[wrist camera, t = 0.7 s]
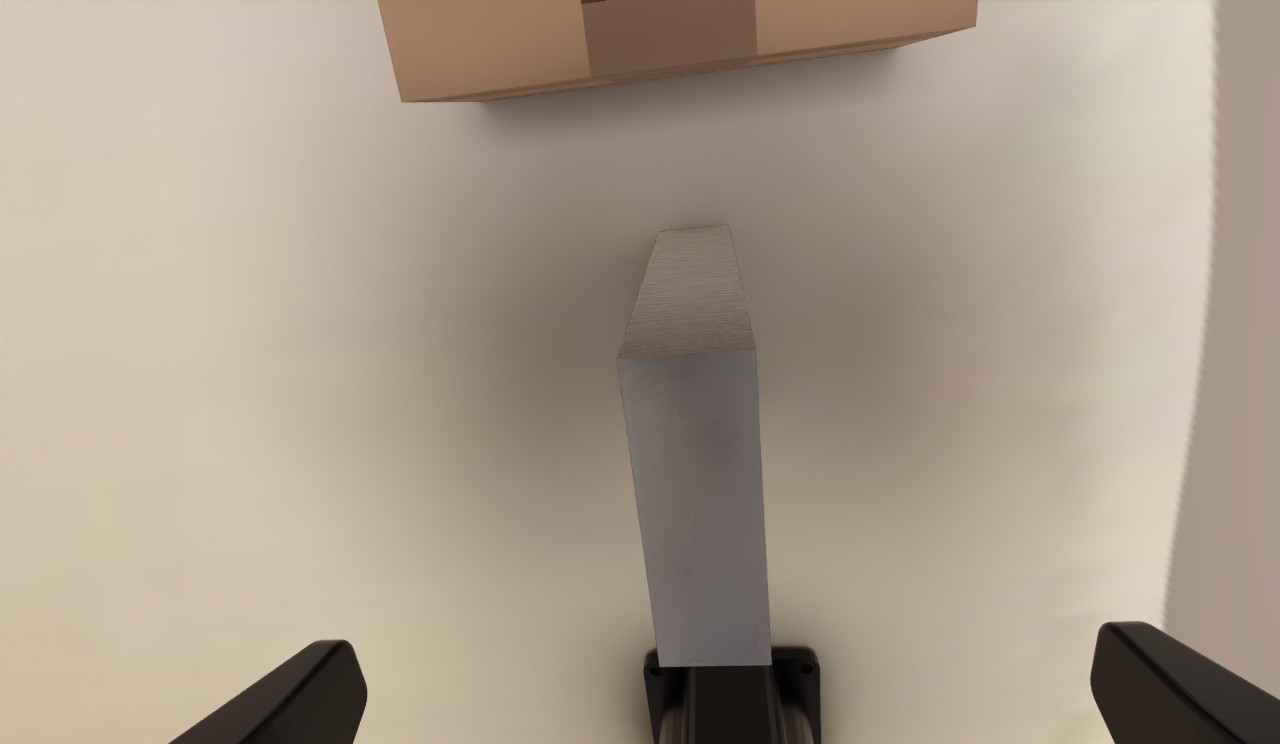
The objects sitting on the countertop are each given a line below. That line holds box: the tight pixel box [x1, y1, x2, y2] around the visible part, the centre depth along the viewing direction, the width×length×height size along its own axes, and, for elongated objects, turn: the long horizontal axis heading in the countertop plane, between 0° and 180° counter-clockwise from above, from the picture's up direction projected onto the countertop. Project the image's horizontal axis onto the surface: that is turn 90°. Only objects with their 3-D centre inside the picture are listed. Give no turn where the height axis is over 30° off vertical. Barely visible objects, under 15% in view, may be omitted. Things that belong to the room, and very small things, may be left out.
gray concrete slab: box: [617, 225, 772, 667], centre depth 15 cm, size 6×2×10 cm, turn 7°
